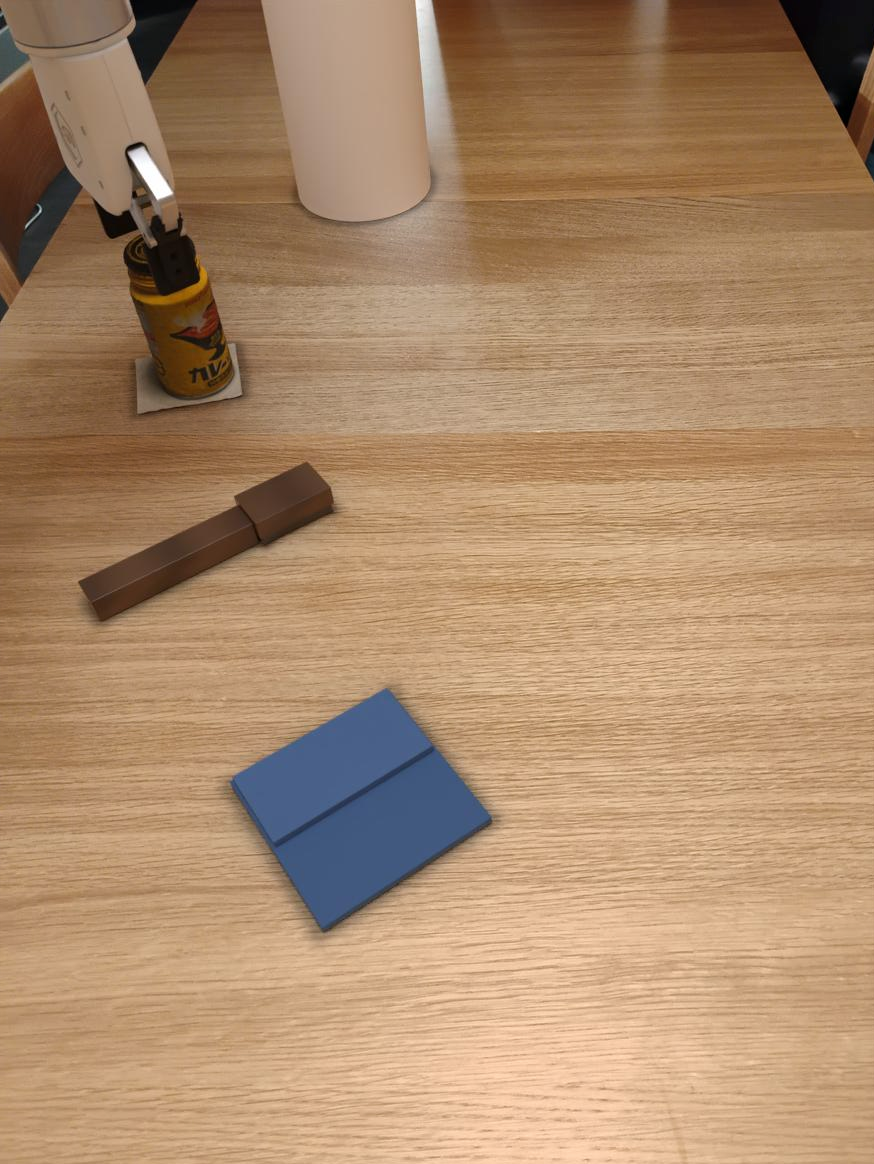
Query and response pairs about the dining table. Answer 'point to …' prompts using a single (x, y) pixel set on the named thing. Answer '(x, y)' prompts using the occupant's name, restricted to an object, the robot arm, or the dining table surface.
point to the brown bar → (212, 540)
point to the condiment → (179, 340)
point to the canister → (351, 104)
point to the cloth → (358, 806)
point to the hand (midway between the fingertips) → (152, 258)
